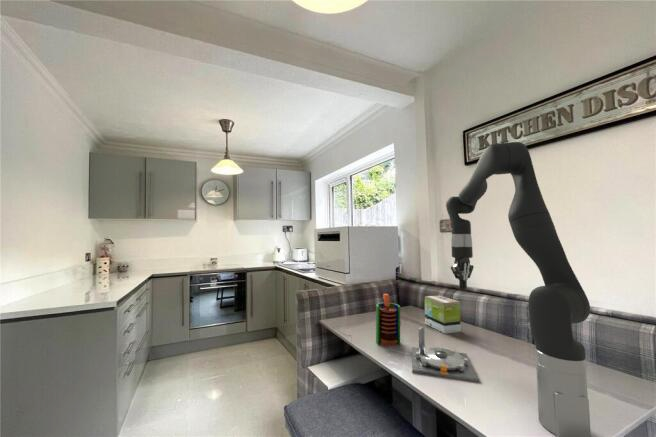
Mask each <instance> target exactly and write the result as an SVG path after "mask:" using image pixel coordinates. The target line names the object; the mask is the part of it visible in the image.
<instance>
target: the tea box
mask: <svg viewBox="0 0 656 437" xmlns="http://www.w3.org/2000/svg"><path fill="white" fill-rule="evenodd" d="M461 323H462V322H461V301H459V300H455V299H452V298H448V297H447V296H442V295H427V296H424V324H425V325H427V326H429V327H431V328H433V329H435V330H437V331H438V332H440V331H441V333H443V334H444V333H446V334H451V333H452V334H455V333H460V332H461V330H462V329H461V327H462V326H461Z"/></svg>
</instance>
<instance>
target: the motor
mask: <svg viewBox="0 0 656 437" xmlns="http://www.w3.org/2000/svg"><path fill="white" fill-rule="evenodd" d="M382 299H383V300H384V302H378V303H376V304H375V310H376V311H375V321H376V322H375V343H376V344H377V345H382V346H386V347H394V346H397V345H401V306H400V305H399V304H396V303H393V302H390V295H389V294H388V293H383V294H382Z"/></svg>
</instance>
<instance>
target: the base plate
mask: <svg viewBox="0 0 656 437" xmlns="http://www.w3.org/2000/svg"><path fill="white" fill-rule="evenodd" d="M416 352H419V347H413V346H411V369H412V370H411V372H412V374H416V375H417V374H418V375H426V376H430V377H431V376H433V377H438V378H447V379H453V380H460V381H466V382H473V383H474V382H475V383H480V378H479V375H478V373H477V371H476V369H475V367H474V366H473V364H472V362H471V360H470V357H469V356H468V354H467V352H466V353H465V352H459V354H460V355H461V356H462V357H463V358H467V359H468V365H466V364H465V370H463V371H460V370H447V372H445V371H441V369H437V368H434V367H431V366H425V365H423V364H422V361H421V360H420V359H419V358H416Z"/></svg>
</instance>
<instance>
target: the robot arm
mask: <svg viewBox="0 0 656 437" xmlns="http://www.w3.org/2000/svg"><path fill="white" fill-rule="evenodd" d="M508 174H510V176H511V177H512V180H513V183H514V189H515V190H514V195H513V198H512V201H511V203H510V205H509V209H508V213H507V214H508V215H507V216H508V217H507V218H508V222H509V226H510V228H511V231H512V234H513V237H514V238H515V241H516V243H517V244H518V245H519V247H520V248H521V249H522V250H523V251H524V253H525V254H526V255H527V256H529V258H530V259H531V260H532V261H533V263H534V264H535V265H536V267H537V269H538V271H539V273H540V275H541V278H542V280H543V283H544V284H543V285H540V286H537V287H536V288H535V287H534V288H533V290H531V292H530V294H529V297H528V303H527V305H528V308H527V309H528V317H529V327H530V328H529V329H530V333H531V337H532V339H533V341H534V344H535V345H534V346H535V365H536V368H535V370H536V387H537V388H536V389H537V392H536V393H537V407H538V411H537V412H538V421H539V422H538V423H540V424H541V426H542V427H544V428H545V429H546V430H547V431H549V432H550V433H552V434H554V435H555V437H592V433H591V417H590V402H589V401H590V400H589V395H588V394H589V393H588V378H587V377H588V376H587V361H586V358H587V357H586V349H585V346H584V345H583V343H581V342H579V341H578V340H575V339H574V335H573V326H572V324H573V325H574V324H579V323H580V324H581V323H582V322H584V321H586V320H587V319H588V318H589V316H590V314H591V305H590V304H591V303H590V302H589V299H588V297H587V295H586V292H585V290H584V289H583V287H582V284H581V283H580V282H579V279H578V278H577V276H576V274H575V272H574V270H573V269H572V266H571V264H570V262H569V260H568V258H567V255H566V252H565V249H564V247H563V245H562V243H561V240H560V237H559V236H558V232H557V230H556V226H555V223H554V222H553V219H552V216H551V214H550V211H549V209H548V207H547V204H546V203H545V199H544V197H543V194H542V191H541V188H540V187H539V183H538V180H537V176H536V173H535V168H534V165H533V162H532V157H531V154H530V152H529V149H528V147H527V146H526V144H524V143H523V142H520V141H511V142H500V143H499V142H498V143H494V144H490V145H489V146H487V147H486V148H485V149H484V151H483V152H482V154H481V155H480V157H479V160H478V161H477V163H476V164H475V167H474V170H473V172H472V174H471V176H470V178H469V180H468V181H467V182H466V183H465V184H464V186H463V187H462V188H461V189H460V191H459V193H458V196H449V197H448V198H447V200H446V203H445V207H446V211H447V214H448V217H449V222H450V224H451V225H450V226H451V238H450V239H451V240H450V242H451V245H450V246H451V257H452V258H454V262H453V263H454V265H453V266H452V265H451V266H450V269H451V271H452V274H453V275H454V277H455V279H457V280H458V281H459V290H461V291H466V290H468V279H470V278H471V276H472V273H473V270H474V268H475V267H474V265H472V264H471V259H472V258H473V257H474V254H473V253H474V252H473V238H472V224H471V223H472V222H471V221H470V220H468V219H464V218H462V217H460V215H461V214H462V215H464V214H465V215H468V214H472V213H473V212H475V211H474V210H475V209H476V206H477V202H478V201H479V200H480V199H481V198H482V197H483V196H484V195H485V194H486V192H487V190H488V181H487V180H488V179H489V178H490V177H492V176H493V175H498V176H499V175H508Z"/></svg>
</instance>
